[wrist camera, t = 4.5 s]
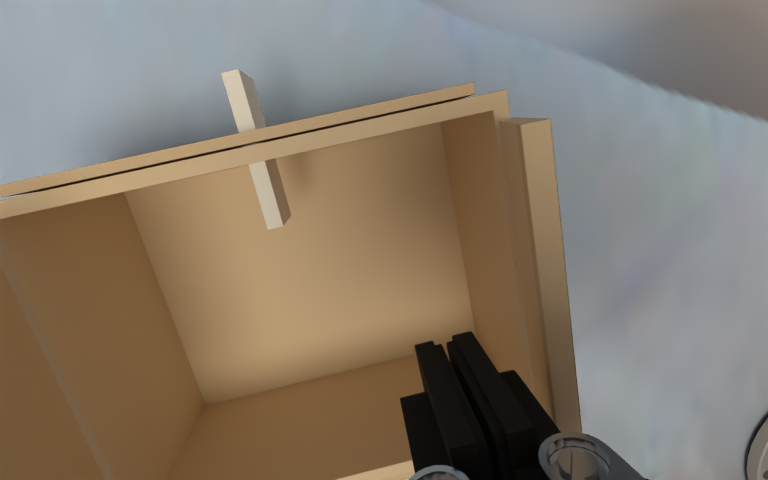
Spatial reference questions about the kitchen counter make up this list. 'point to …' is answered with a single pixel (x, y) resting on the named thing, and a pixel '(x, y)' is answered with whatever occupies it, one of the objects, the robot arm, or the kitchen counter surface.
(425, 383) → the robot arm
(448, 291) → the carton
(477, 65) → the kitchen counter surface
